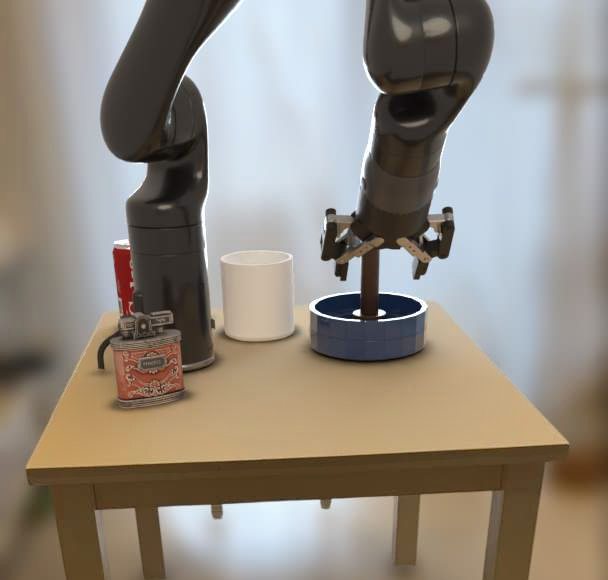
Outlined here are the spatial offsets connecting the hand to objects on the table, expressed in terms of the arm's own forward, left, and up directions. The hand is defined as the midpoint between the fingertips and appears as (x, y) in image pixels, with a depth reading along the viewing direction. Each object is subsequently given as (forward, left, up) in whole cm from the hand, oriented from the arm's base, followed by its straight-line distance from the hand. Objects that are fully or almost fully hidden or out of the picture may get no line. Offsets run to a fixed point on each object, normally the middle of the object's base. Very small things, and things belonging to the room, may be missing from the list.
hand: (378, 273), depth 103 cm
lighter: (-27, -7, -12) cm, 30 cm away
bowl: (0, +11, -12) cm, 17 cm away
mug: (-15, +21, -12) cm, 29 cm away
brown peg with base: (0, +11, -11) cm, 16 cm away
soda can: (-32, +25, -12) cm, 43 cm away
